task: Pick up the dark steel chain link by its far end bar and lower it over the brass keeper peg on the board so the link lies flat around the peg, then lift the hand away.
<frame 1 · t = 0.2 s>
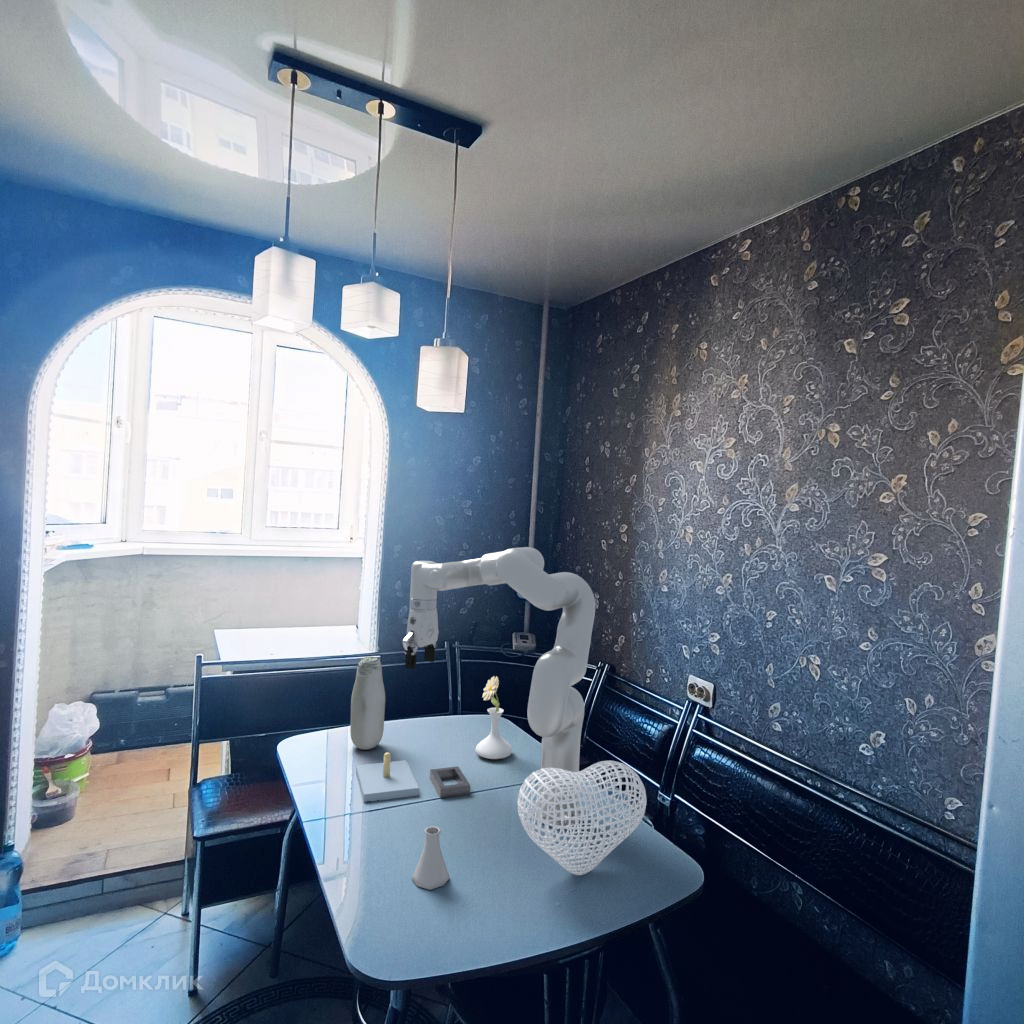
hand: (420, 664, 175), 30 cm above the table, tool pointing down, fingers open, 9 cm apart
steel link: (449, 786, 166), on the table
tall cream vase: (366, 748, 189), on the table
flower in vase: (493, 756, 187), on the table
heart: (579, 874, 128), on the table
flask: (430, 880, 124), on the table
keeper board: (386, 783, 166), on the table
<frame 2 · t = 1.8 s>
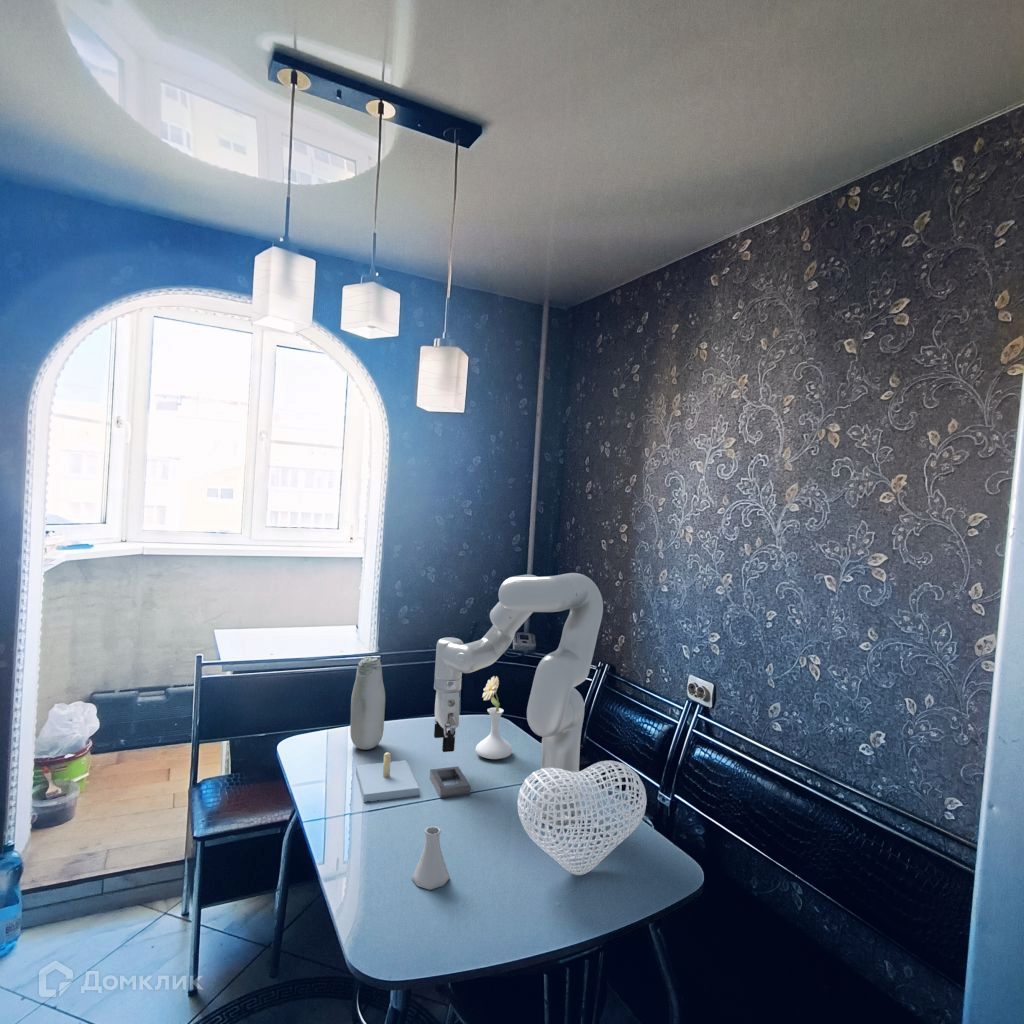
hand: (443, 744, 171), 9 cm above the table, tool pointing down, fingers open, 9 cm apart
nothing on the table moved.
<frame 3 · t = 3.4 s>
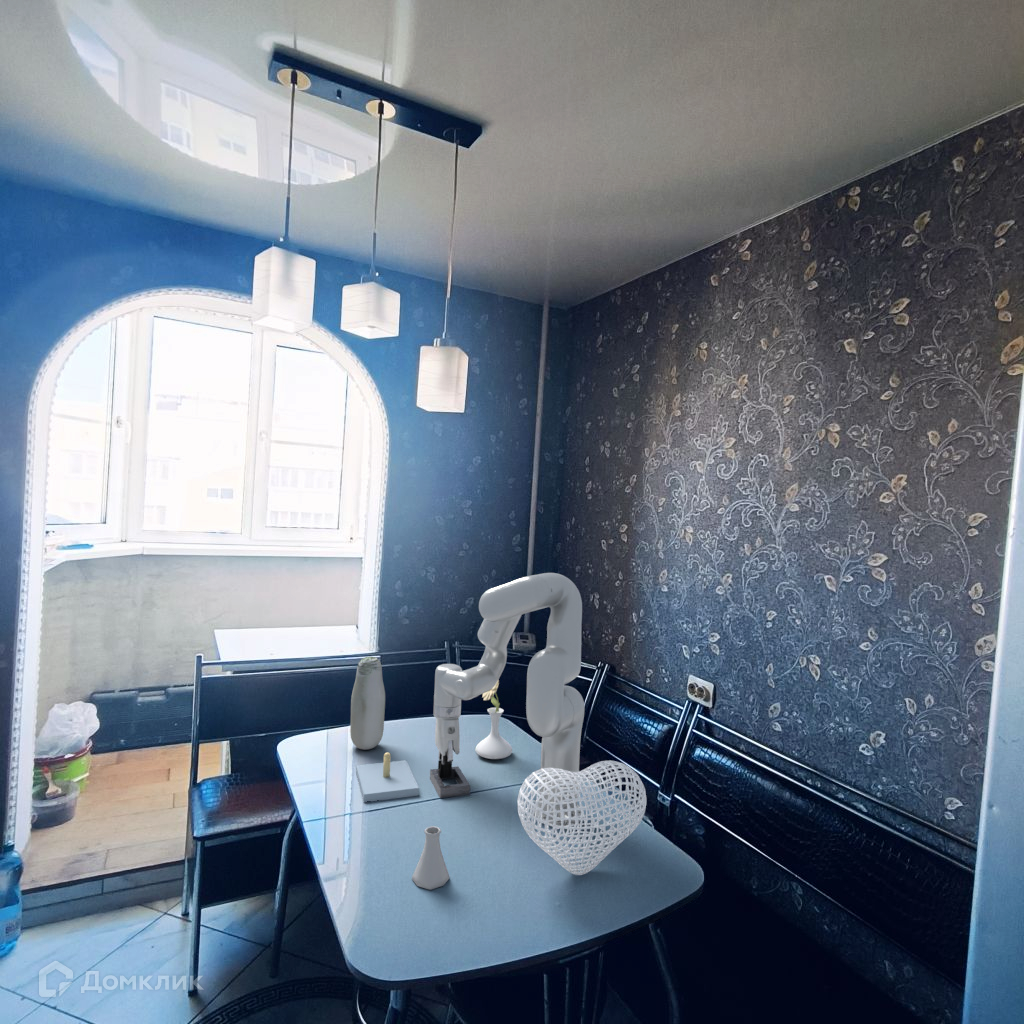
hand: (444, 775, 171), 1 cm above the table, tool pointing down, fingers closed on steel link, 1 cm apart
steel link: (449, 786, 166), on the table, touching gripper
everything else where it was.
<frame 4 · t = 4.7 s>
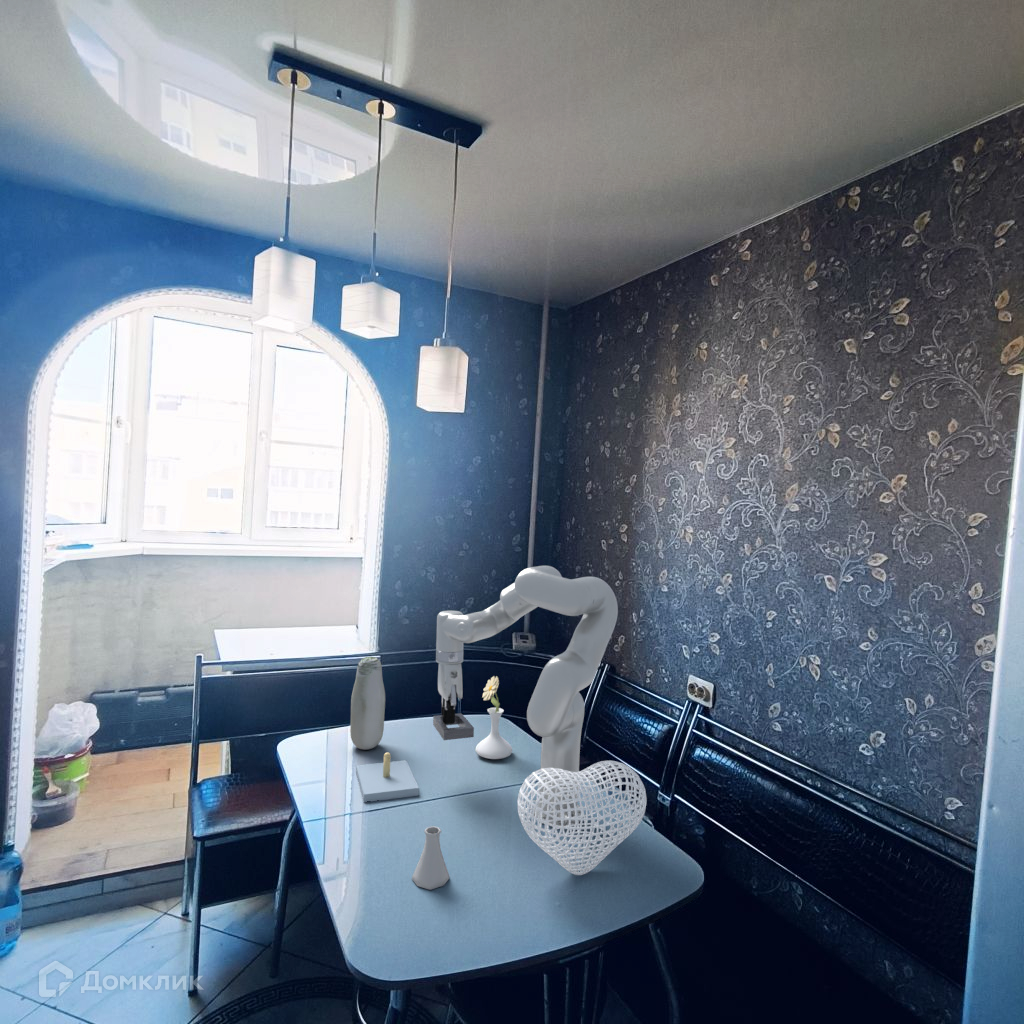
hand: (448, 722, 170), 16 cm above the table, tool pointing down, fingers closed on steel link, 1 cm apart
steel link: (452, 730, 165), point 15 cm above the table, touching gripper
everything else where it was.
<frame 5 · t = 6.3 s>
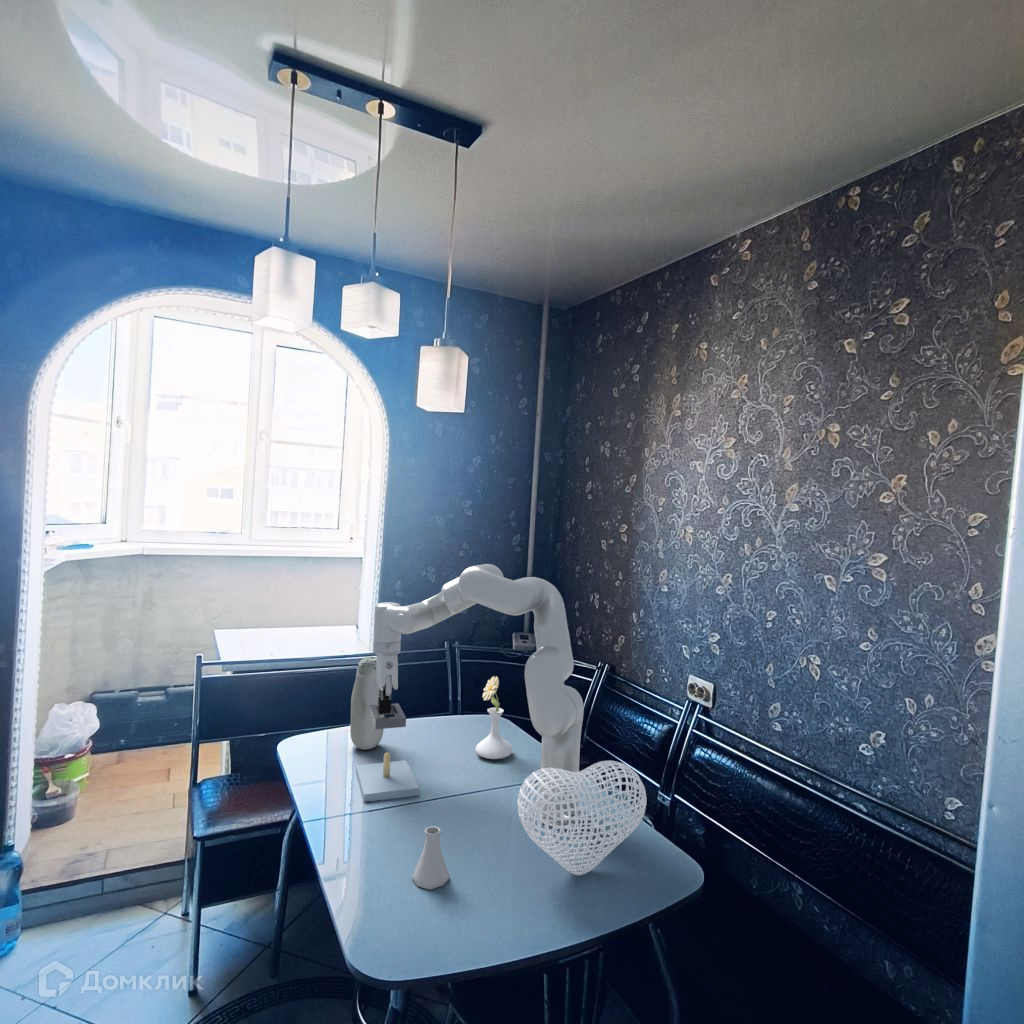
hand: (384, 711, 173), 17 cm above the table, tool pointing down, fingers closed on steel link, 1 cm apart
steel link: (387, 720, 168), point 16 cm above the table, touching gripper
everything else where it was.
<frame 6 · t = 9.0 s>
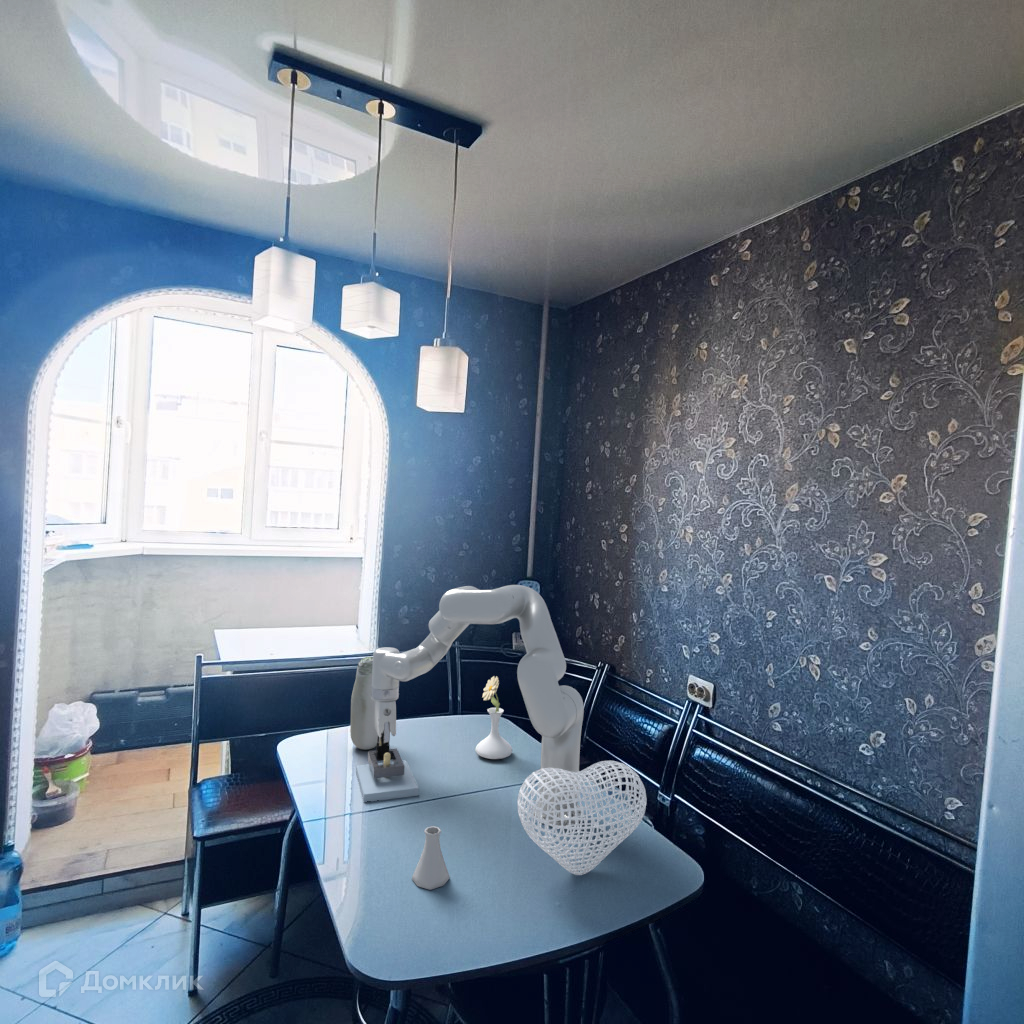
hand: (382, 757, 173), 4 cm above the table, tool pointing down, fingers closed on steel link, 1 cm apart
steel link: (385, 767, 168), point 3 cm above the table, touching gripper
everything else where it was.
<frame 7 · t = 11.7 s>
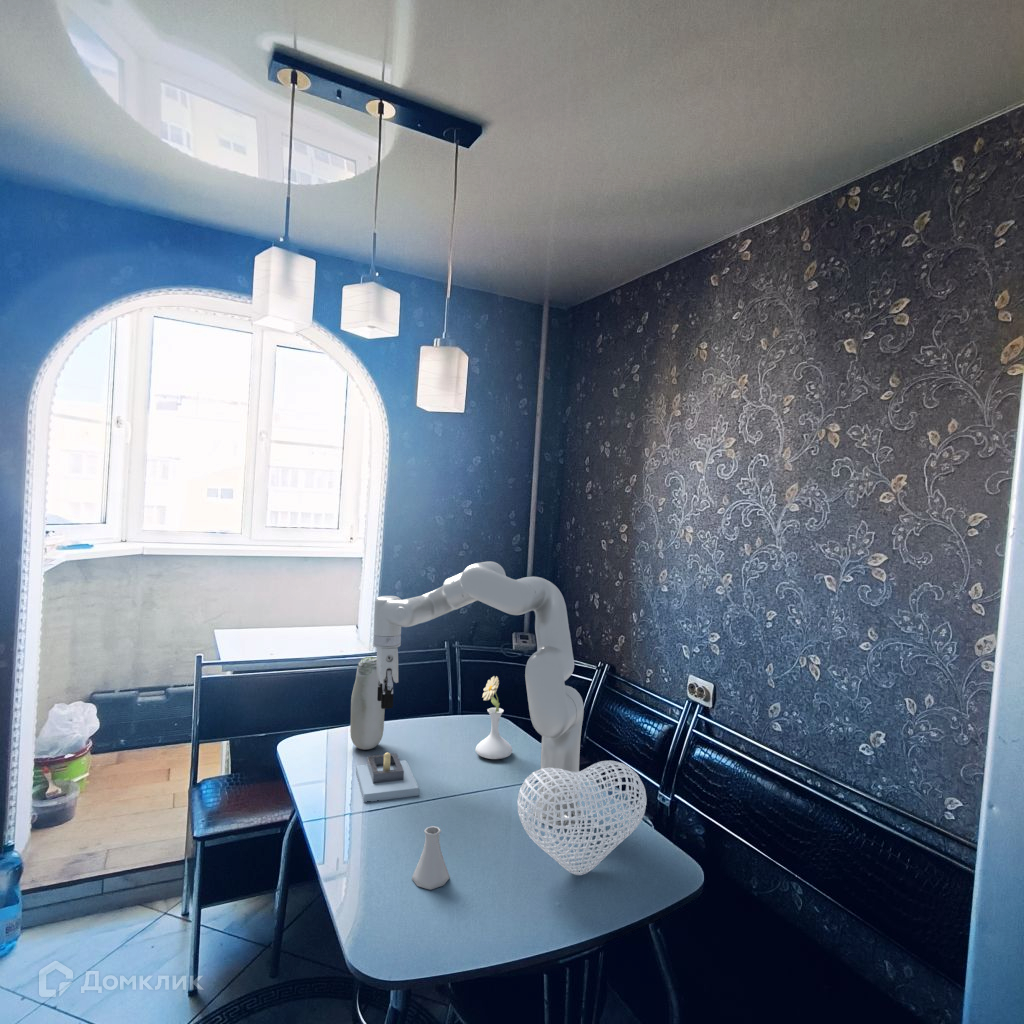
hand: (384, 703, 173), 19 cm above the table, tool pointing down, fingers open, 6 cm apart
steel link: (384, 772, 168), point 2 cm above the table, touching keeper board
everything else where it was.
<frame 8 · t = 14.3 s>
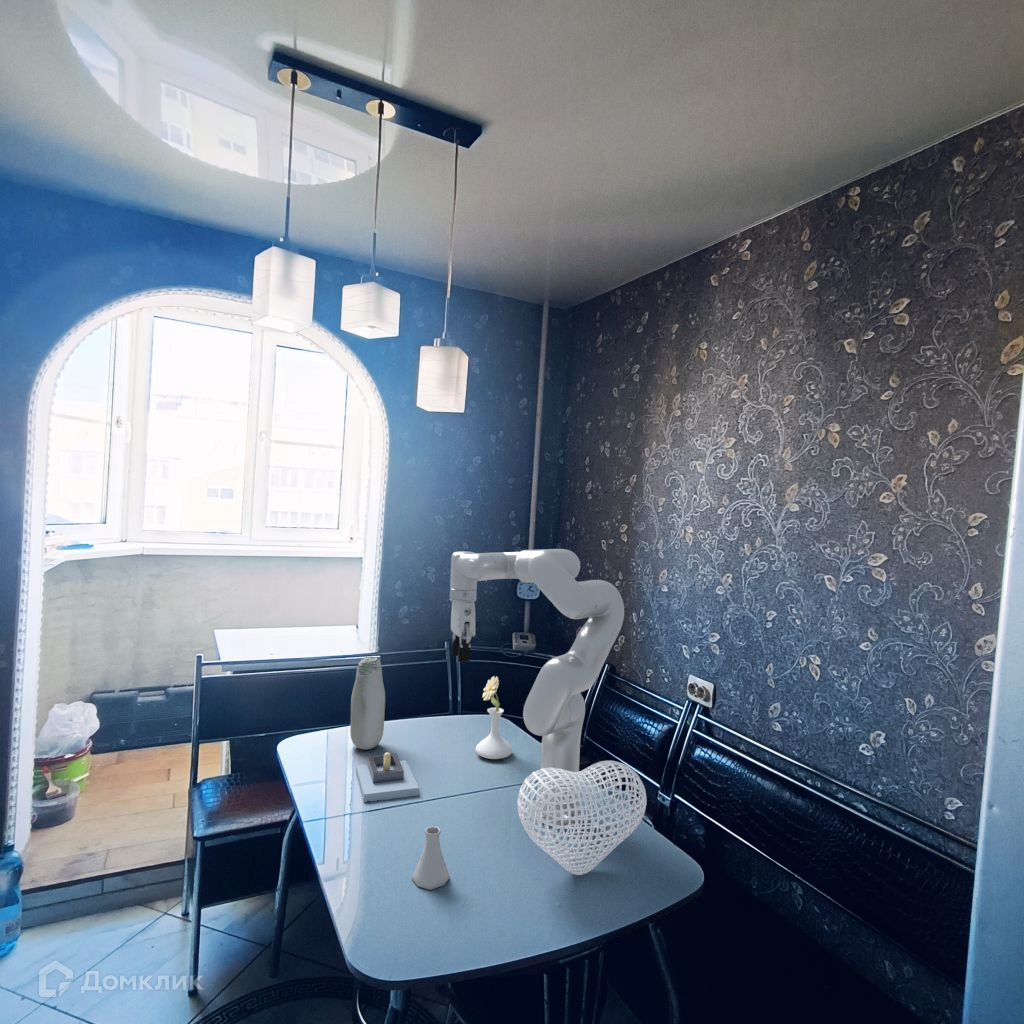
hand: (460, 657, 174), 33 cm above the table, tool pointing down, fingers open, 6 cm apart
nothing on the table moved.
at the end: steel link 2.1 cm off-centre on the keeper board, point 2.0 cm above the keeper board's base; steel link tilted 0°; the gripper is holding nothing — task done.
